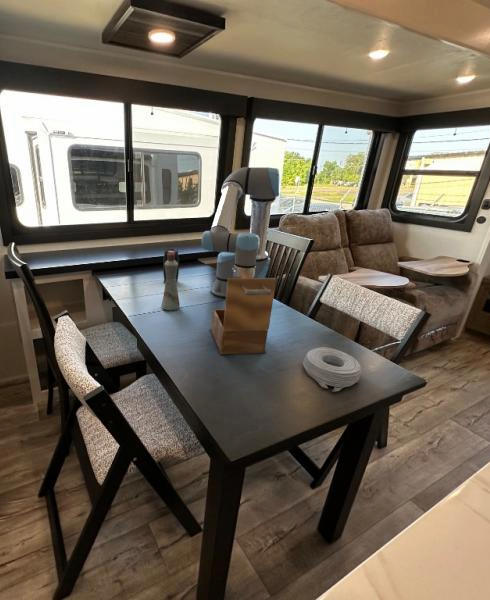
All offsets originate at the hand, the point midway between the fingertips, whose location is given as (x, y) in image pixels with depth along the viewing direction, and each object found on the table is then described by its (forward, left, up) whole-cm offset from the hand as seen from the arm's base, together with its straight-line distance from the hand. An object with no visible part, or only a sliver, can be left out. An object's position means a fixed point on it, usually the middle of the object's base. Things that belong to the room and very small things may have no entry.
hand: (237, 330), depth 122 cm
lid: (+9, 0, +15) cm, 18 cm away
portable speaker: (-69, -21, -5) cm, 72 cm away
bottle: (-33, -24, -5) cm, 41 cm away
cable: (+23, +26, -5) cm, 35 cm away
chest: (0, 0, -5) cm, 5 cm away
